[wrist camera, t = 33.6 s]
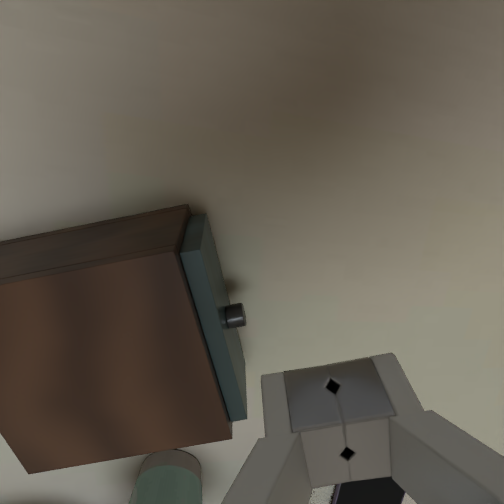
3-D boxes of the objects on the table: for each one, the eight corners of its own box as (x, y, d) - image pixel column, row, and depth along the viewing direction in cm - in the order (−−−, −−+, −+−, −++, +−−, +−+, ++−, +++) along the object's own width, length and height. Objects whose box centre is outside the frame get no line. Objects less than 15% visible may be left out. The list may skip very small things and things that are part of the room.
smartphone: (424, 442, 38) (389, 539, 44) (419, 433, 39) (385, 529, 45) (350, 441, 38) (325, 539, 44) (347, 431, 39) (323, 528, 45)
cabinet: (188, 203, 28) (173, 250, 21) (232, 363, 34) (232, 439, 27) (-12, 244, 28) (-90, 302, 21) (68, 392, 35) (28, 474, 28)
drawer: (223, 209, 27) (221, 245, 22) (259, 359, 33) (264, 416, 28) (17, 250, 28) (-34, 294, 22) (88, 390, 33) (61, 452, 28)
